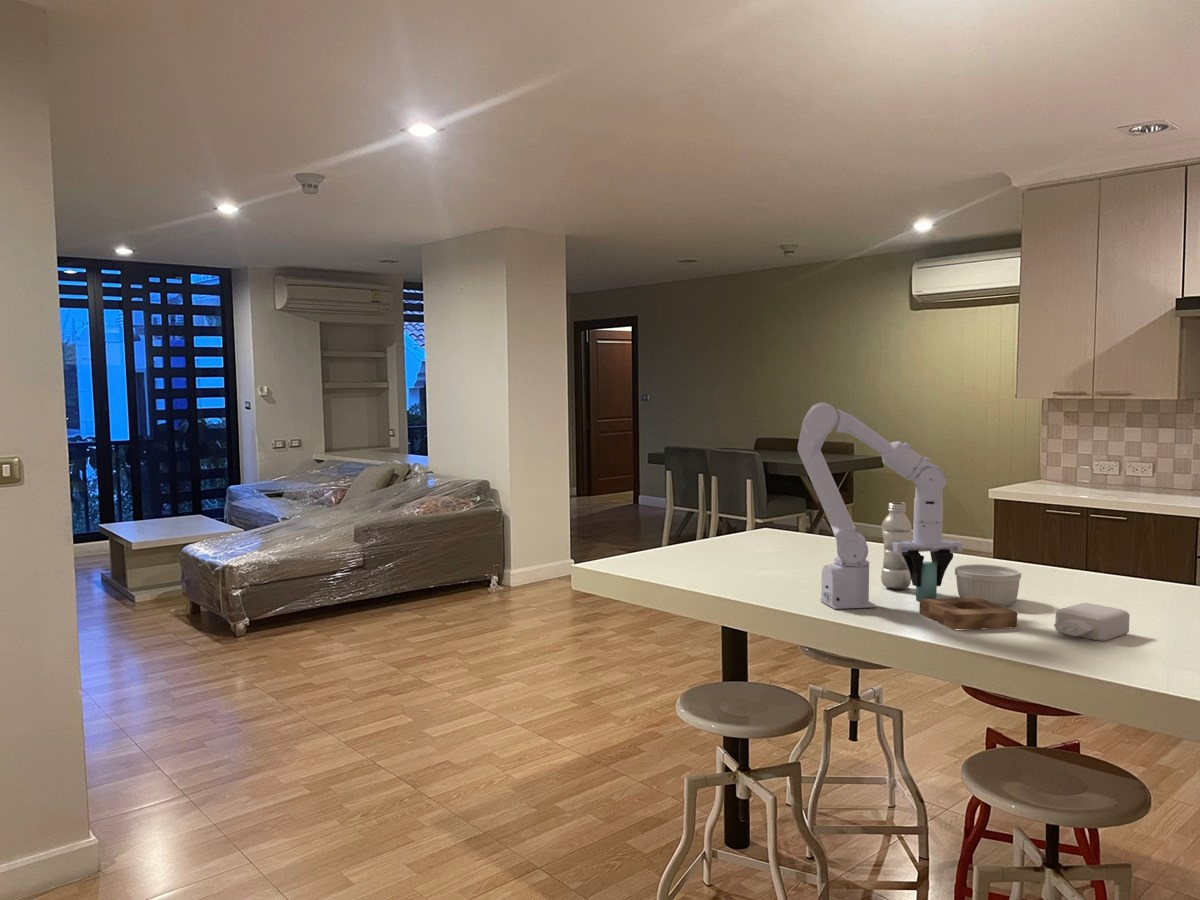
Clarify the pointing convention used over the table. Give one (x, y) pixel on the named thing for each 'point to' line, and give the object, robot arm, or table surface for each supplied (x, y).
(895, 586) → the plastic bottle
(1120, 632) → the charger
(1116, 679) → the table surface
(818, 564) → the table surface
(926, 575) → the peg
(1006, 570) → the ramekin
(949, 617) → the socket
